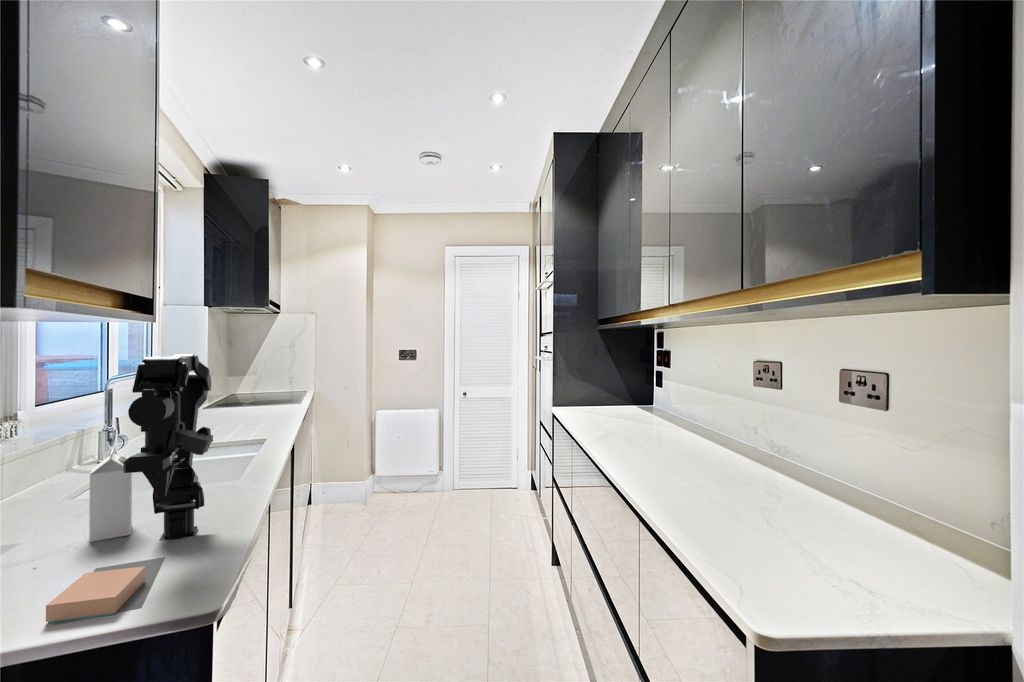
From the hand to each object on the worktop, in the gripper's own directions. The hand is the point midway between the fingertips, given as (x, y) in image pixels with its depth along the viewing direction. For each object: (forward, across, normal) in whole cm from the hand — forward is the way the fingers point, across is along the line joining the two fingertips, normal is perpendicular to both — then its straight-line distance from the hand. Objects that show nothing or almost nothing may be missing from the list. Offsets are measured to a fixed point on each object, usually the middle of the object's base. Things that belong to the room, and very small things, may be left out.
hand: (162, 496), depth 97 cm
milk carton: (+13, +19, +17) cm, 29 cm away
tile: (+11, -10, +4) cm, 15 cm away
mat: (+13, -11, +3) cm, 17 cm away
